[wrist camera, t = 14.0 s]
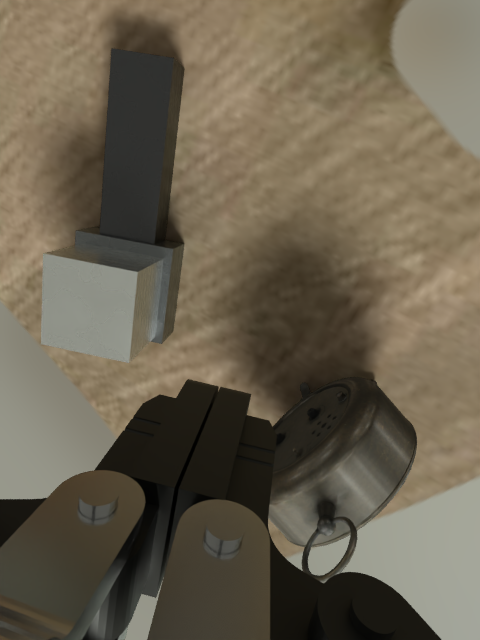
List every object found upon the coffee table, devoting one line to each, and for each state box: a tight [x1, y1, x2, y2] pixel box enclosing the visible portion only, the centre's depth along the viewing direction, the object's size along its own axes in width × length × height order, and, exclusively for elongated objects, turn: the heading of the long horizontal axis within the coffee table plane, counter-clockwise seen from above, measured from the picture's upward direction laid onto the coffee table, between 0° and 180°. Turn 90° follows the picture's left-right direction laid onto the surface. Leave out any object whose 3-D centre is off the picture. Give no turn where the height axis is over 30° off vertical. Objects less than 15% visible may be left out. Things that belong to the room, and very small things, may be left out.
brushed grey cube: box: [41, 243, 164, 363], centre depth 29 cm, size 6×6×5 cm
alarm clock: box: [268, 377, 417, 583], centre depth 27 cm, size 11×5×16 cm, turn 133°
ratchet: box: [75, 49, 184, 344], centre depth 29 cm, size 18×7×6 cm, turn 171°
